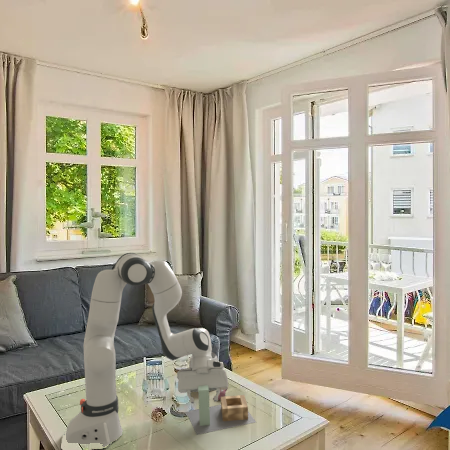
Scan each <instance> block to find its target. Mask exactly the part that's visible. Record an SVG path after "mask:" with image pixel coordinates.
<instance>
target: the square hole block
mask: <svg viewBox="0 0 450 450" xmlns="http://www.w3.org/2000/svg"><path fill="white" fill-rule="evenodd" d="M220 405H221V411H222V418H223V421H233V420H245V419H248V412H249V406H248V403H247V400H246V396H245V394H242V395H241V394H239V395H226V396H225V397H221V400H220Z"/></svg>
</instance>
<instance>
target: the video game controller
mask: <svg viewBox="0 0 450 450" xmlns="http://www.w3.org/2000/svg"><path fill="white" fill-rule="evenodd" d="M228 388H229V384H228ZM228 388H227V389H226V390H220V393H219V396H218V401H221V397H225V396H227V390H228ZM212 400H214V397H213V398H212Z"/></svg>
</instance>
